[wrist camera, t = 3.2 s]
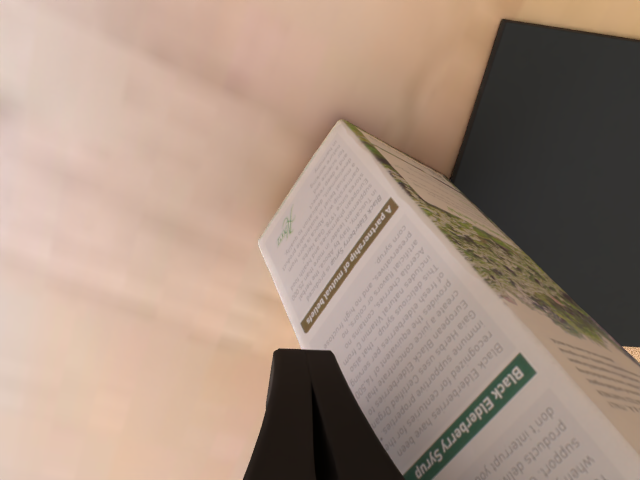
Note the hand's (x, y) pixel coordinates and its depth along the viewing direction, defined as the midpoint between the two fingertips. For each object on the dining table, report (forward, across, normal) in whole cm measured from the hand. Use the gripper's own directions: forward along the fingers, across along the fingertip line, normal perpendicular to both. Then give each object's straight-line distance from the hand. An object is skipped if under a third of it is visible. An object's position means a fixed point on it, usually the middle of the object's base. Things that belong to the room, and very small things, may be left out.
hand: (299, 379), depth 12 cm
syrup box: (+9, -3, 0) cm, 9 cm away
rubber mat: (+9, -16, 0) cm, 18 cm away
